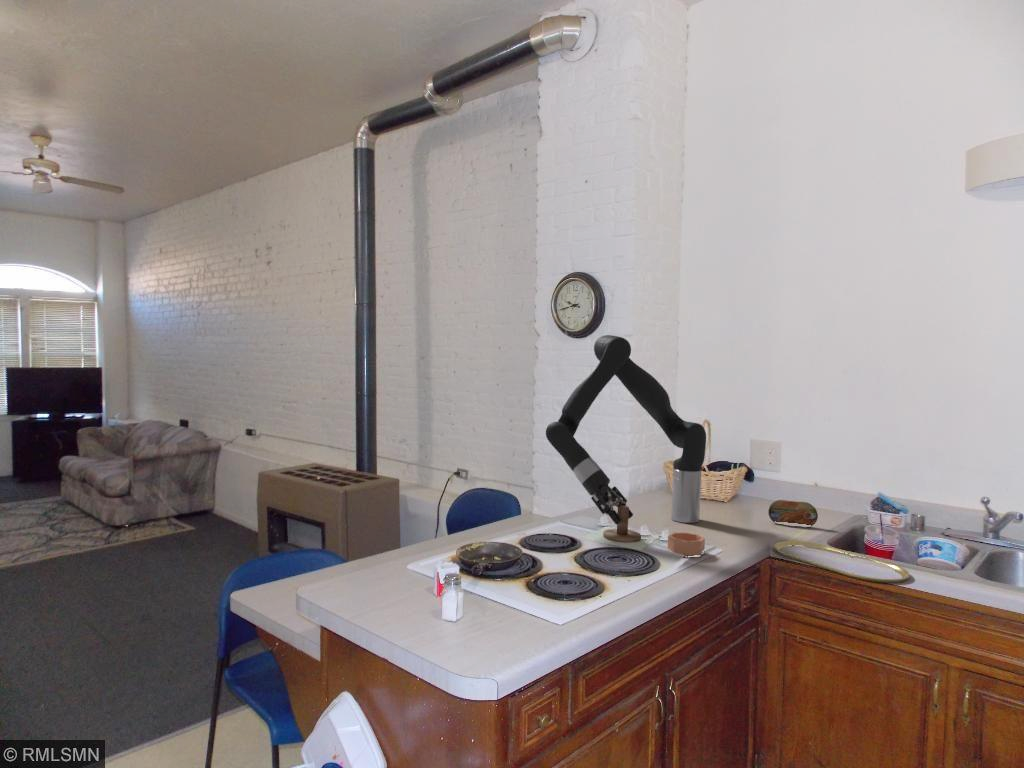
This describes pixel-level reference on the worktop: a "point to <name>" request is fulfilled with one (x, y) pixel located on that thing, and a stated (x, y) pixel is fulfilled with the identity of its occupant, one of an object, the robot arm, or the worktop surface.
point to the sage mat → (598, 537)
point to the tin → (793, 512)
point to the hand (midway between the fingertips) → (625, 519)
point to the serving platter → (784, 544)
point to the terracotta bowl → (686, 543)
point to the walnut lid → (622, 529)
